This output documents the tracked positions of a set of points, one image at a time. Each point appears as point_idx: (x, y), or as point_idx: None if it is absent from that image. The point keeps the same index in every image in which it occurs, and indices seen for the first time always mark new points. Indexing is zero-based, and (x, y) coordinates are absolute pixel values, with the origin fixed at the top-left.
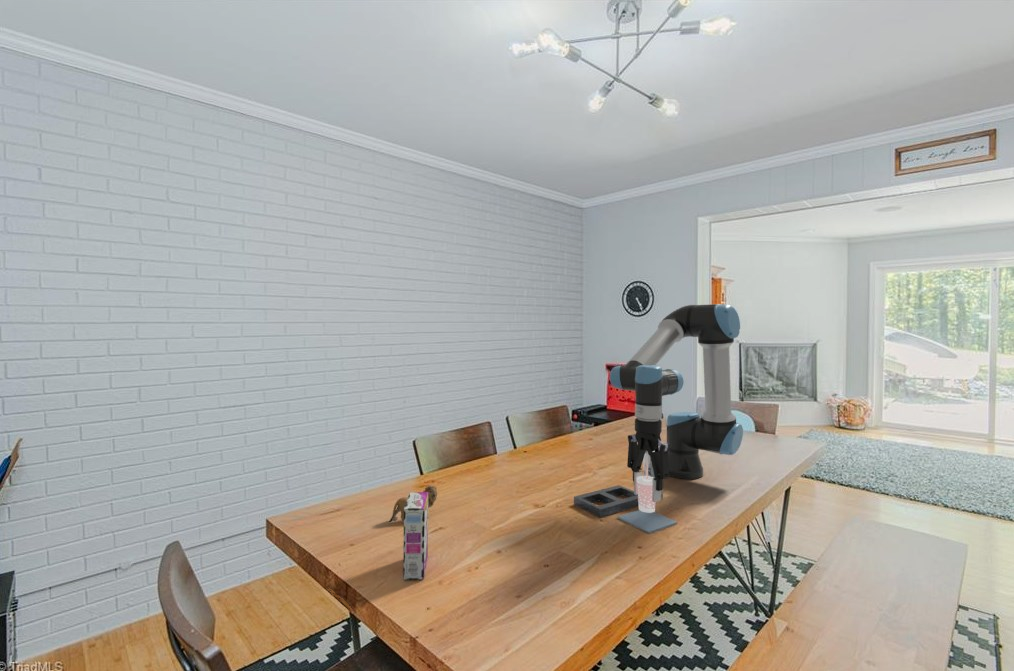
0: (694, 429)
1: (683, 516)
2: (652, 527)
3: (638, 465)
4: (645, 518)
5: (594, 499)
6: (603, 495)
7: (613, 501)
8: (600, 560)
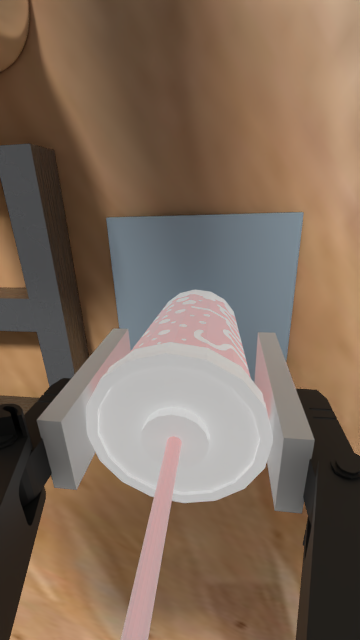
0: None
1: (267, 95)
2: None
3: (21, 528)
4: None
5: None
6: None
7: (25, 328)
8: (298, 564)
